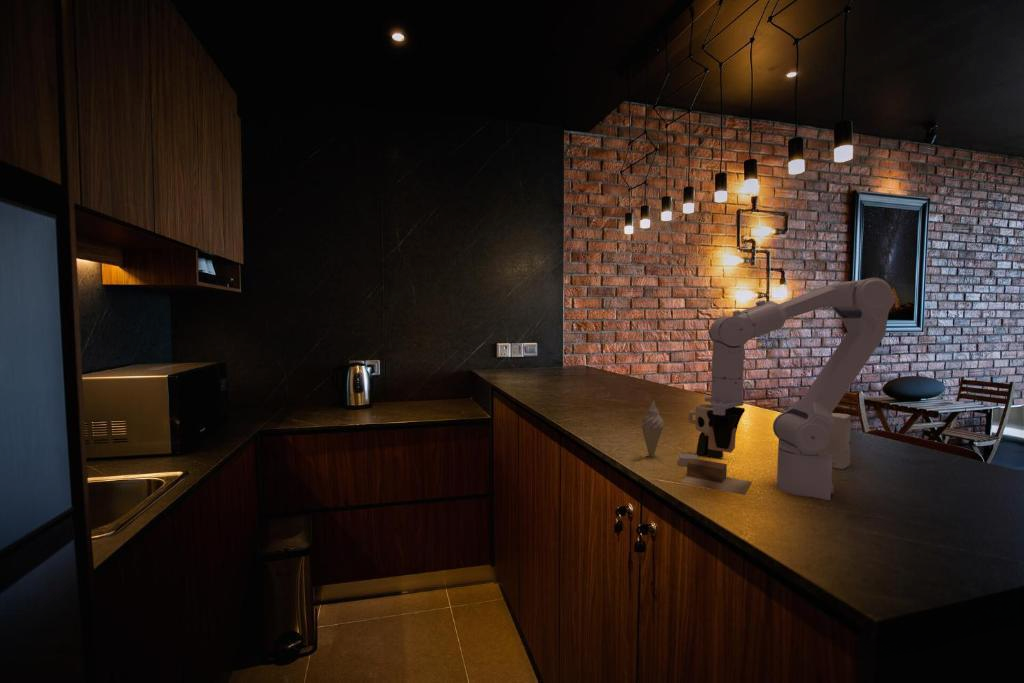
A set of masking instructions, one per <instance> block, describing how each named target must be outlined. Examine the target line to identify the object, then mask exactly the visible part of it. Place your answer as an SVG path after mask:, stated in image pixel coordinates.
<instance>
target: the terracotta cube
mask: <svg viewBox="0 0 1024 683" xmlns="http://www.w3.org/2000/svg"><path fill="white" fill-rule="evenodd" d="M736 434H737V431H736V427H734V428H733V431H732V436H731V442H730V445H729V448H728V449H723V448H717V447H716V443H715V437H714V432H713V428H712V426H711V427H710V428H709V441H708V449H712V450H717V451H723V453H730V454H731V453H732V452H733V451H734V450H735V448H736V438H737V437H736Z"/></svg>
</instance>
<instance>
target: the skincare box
mask: <svg viewBox="0 0 1024 683" xmlns="http://www.w3.org/2000/svg"><path fill="white" fill-rule="evenodd" d="M832 417H833V420H834V427H833V428H832V430H831V432H830V436H829V442H828V444H827V446H826V447H825V448H824V449H823V453H825V454H830V455H833V458H832V469H833V468H835V469H838V470H844V469H846V468H848V467H849V466H850V465H851V464H850V463H851V418H852V417H851V415H850V414H846V413H838V412H832Z"/></svg>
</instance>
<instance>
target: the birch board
mask: <svg viewBox="0 0 1024 683" xmlns="http://www.w3.org/2000/svg"><path fill="white" fill-rule="evenodd" d="M680 482H681V483H683V484H689V485H692V486H698V487H702V488H708V489H713V490H716V491H717V490H718V491H724V492H728V493H734V494H737V495H738V494H739V495H744V496H745V495H746V493H747V492H748V490H749V489H750V487H751V485H752V483H753V481H749V480H745V479H739V478H736V477H735V478H734V477H728V476H726V478H725V479H724V481H723V482H722V483H721V482H716V481H710V480H705V479H700V478H695V477H689V476H687V475H686V476H685V477H684V478H683V479H682V480H681V481H680Z"/></svg>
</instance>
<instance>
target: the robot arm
mask: <svg viewBox="0 0 1024 683" xmlns="http://www.w3.org/2000/svg"><path fill="white" fill-rule="evenodd" d="M895 303H896V298H895V295H894V293H893V291H892V287H891V285H890V284H889V283H888V282H887V281H886V280H885V279H882V278H878V277H869V278H865V279H859V280H858V279H857V280H851V281H848V280H844V281H840V282H837V283H832V284H826V285H824V286H820V287H817V288H816V289H813V290H811V291H809V292H806V293H803V294H801V295H797V296H795V297H794V298H791V299H789V300H786V301H784V302H781V303H777V302H775V301H771V300H769V301H766V300H764V299H763V300H759V301H756V302H755V306H752V307H749V308H746V309H744V310H740V309H739V310H733V311H732V316H721V317H718V318H716V319H715V320H713V321H714V322H712V323H711V325H710V328H709V329H708V330H707V331H708V332H707V334H708V337H709V339H710V341H711V342H712V356H711V357H712V358H711V387H710V388H711V390H710V396H705V397H704V402H707V403H709V404H712V405H713V410H708V411H707V416H708V418H709V420H710V422H711V425H712V428H713V432H714V437H715V443H716V447H717V448H723V449H728V448H729V445H730V442H731V436H732V431H733V428H734V427H736V432H737V430H738V426H739V423H740V421H741V418H742V416H743V415H744V414H745V411H746V409H745V408H744V407H742V406H744V402H745V401H744V399H743V395H744V394H743V393H744V390H743V389H744V366H745V365H744V363H745V361H744V359H745V345H746V344H747V343H748V342H749V340H753V339H754V338H758V337H761V336H763V335H766V334H768V333H771V332H775V331H777V330H779V329H782V328H783V327H784V325H785V323H786V322H787V320H789V319H791V318H794V317H797V316H800V315H803V314H807V313H810V312H813V311H816V310H819V309H822V308H832V309H833V311H834V312H835V313H836V315H837V316H838V318H840V319H841V321H842V322H843V323H844V326H845V328H846V331H847V332H846V334H845V335H844V337H843V338H842V339H841V341H840V343H839V344H838V346H837V348H835V350H834V352H833V353H832V355H830V357H829V359H828V360H827V362H826V363H825V365H824V366H823V368H822V369H821V370H820V372H819V374H818V375H817V377H816V378H815V380H814V381H813V382H812V384H811V386H809V388H808V390H807V391H806V392H805V394H804V396H803V397H802V398H801V399H798V400H796V401H795V402H792V403H791V404H790V405H789V407H788V408H787V409H786V410H785V411H784V412H782V413H780V414H778V415H777V416H776V417H775V419H774V421H773V423H772V431H773V433H774V436H776V438H777V439H778V445H777V447H778V448H777V468H776V469H777V470H776V471H777V472H776V474H777V475H776V488H777V489H778V490H779V491H782V492H784V493H788V494H790V495H795V496H800V497H809V498H815V499H821V500H826V501H831V495H834V483H832V480H833V478H832V477H833V476H832V475H833V467H832V458H833V455H830V454H825V453H824V452H822V451H824V448H825V447H826V446H827V444H828V442H829V436H830V432H831V430H832V428H833V427H834V420H833V417H832V413H834V412H833V411H834V410H835V409H836V407H837V406H838V404H839V403H840V402H841V400H842V399H843V397H844V396H845V394H846V393H847V392H848V390H849V388H850V387H851V385H852V384H853V383H854V381H855V380H856V379H857V377H858V375H859V374H860V372H861V371H862V369H863V368H864V366H865V365H866V364H867V363H868V361H869V360H870V358H871V356H872V355H873V354H874V352H875V351H876V349H877V348H878V346H879V345H880V343H881V342H882V340H883V339H884V337H885V335H886V330H887V324H888V319H889V314H890V310H891V309H892V307H893V306H894V305H895Z"/></svg>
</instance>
